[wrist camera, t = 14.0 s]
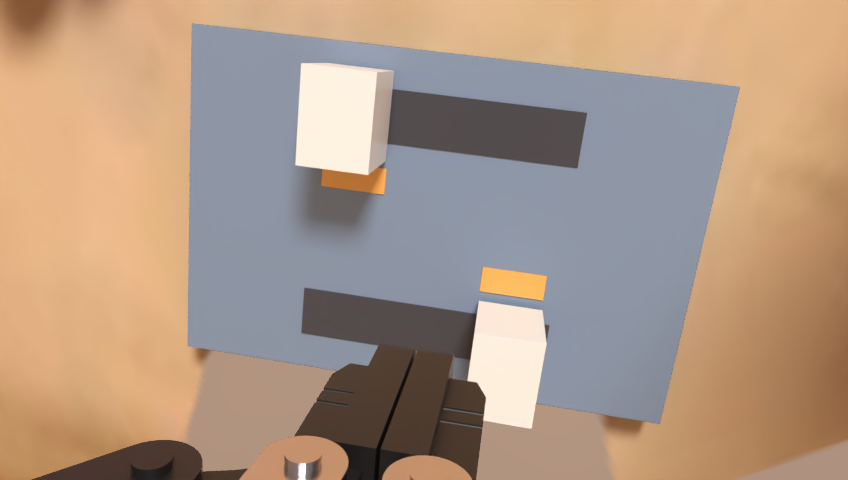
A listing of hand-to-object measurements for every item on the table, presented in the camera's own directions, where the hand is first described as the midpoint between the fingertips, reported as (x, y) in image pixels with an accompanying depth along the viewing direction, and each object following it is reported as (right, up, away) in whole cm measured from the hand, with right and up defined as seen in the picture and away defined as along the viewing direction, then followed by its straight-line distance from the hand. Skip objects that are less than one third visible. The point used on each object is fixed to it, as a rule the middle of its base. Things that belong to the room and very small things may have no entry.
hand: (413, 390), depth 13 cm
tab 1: (-3, +9, +16) cm, 19 cm away
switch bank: (+1, +4, +20) cm, 20 cm away
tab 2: (+4, -2, +18) cm, 19 cm away
